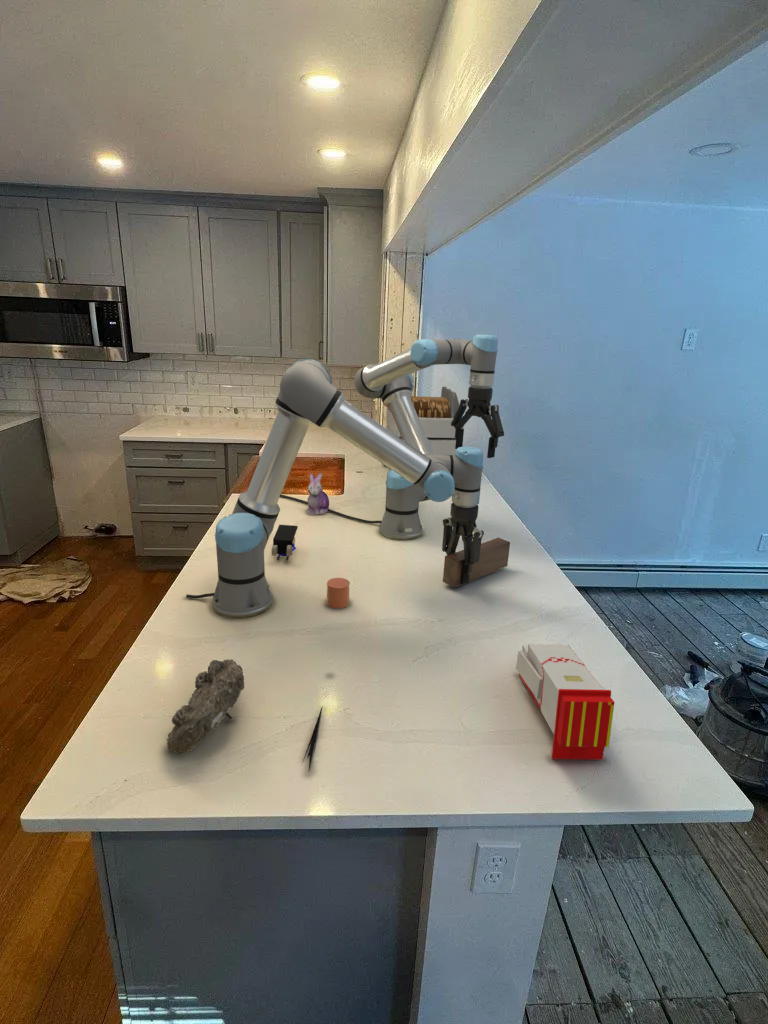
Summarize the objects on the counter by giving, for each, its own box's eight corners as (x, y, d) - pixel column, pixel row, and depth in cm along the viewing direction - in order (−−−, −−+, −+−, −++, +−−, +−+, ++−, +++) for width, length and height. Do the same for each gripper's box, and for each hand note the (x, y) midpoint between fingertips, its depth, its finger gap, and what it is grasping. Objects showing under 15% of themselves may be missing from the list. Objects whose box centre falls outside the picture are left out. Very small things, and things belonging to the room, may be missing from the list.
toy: (564, 626, 126) (624, 698, 97) (558, 682, 129) (615, 767, 100) (510, 625, 126) (554, 696, 96) (506, 681, 128) (547, 766, 99)
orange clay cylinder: (322, 601, 152) (322, 581, 150) (340, 595, 156) (340, 575, 154) (335, 610, 148) (335, 590, 146) (353, 604, 151) (354, 583, 149)
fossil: (192, 660, 117) (244, 628, 112) (224, 691, 120) (276, 661, 115) (142, 746, 98) (202, 712, 93) (182, 779, 101) (242, 748, 96)
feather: (331, 679, 122) (336, 673, 122) (307, 777, 96) (313, 769, 95) (324, 675, 122) (329, 669, 121) (298, 772, 95) (304, 764, 95)
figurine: (311, 517, 211) (311, 478, 206) (301, 508, 220) (301, 471, 215) (334, 513, 216) (335, 476, 211) (324, 505, 224) (324, 469, 219)
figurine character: (292, 567, 173) (298, 543, 187) (292, 546, 170) (298, 523, 183) (270, 567, 173) (278, 542, 187) (269, 545, 170) (277, 522, 183)
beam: (442, 581, 163) (444, 556, 160) (495, 560, 178) (498, 537, 175) (454, 587, 160) (456, 561, 157) (507, 565, 175) (510, 542, 172)
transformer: (382, 463, 289) (386, 382, 275) (445, 464, 293) (451, 384, 279) (390, 482, 257) (394, 392, 243) (460, 483, 261) (468, 394, 247)
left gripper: (432, 497, 160) (427, 572, 168) (480, 515, 147) (472, 595, 155) (450, 492, 165) (444, 565, 172) (499, 509, 152) (490, 587, 160)
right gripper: (443, 382, 183) (438, 446, 190) (505, 392, 166) (497, 463, 173) (459, 381, 188) (453, 443, 195) (520, 391, 170) (512, 459, 178)
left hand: (457, 579), depth 164 cm, fingers closed on beam, 5 cm apart
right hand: (474, 453), depth 184 cm, fingers open, 13 cm apart
